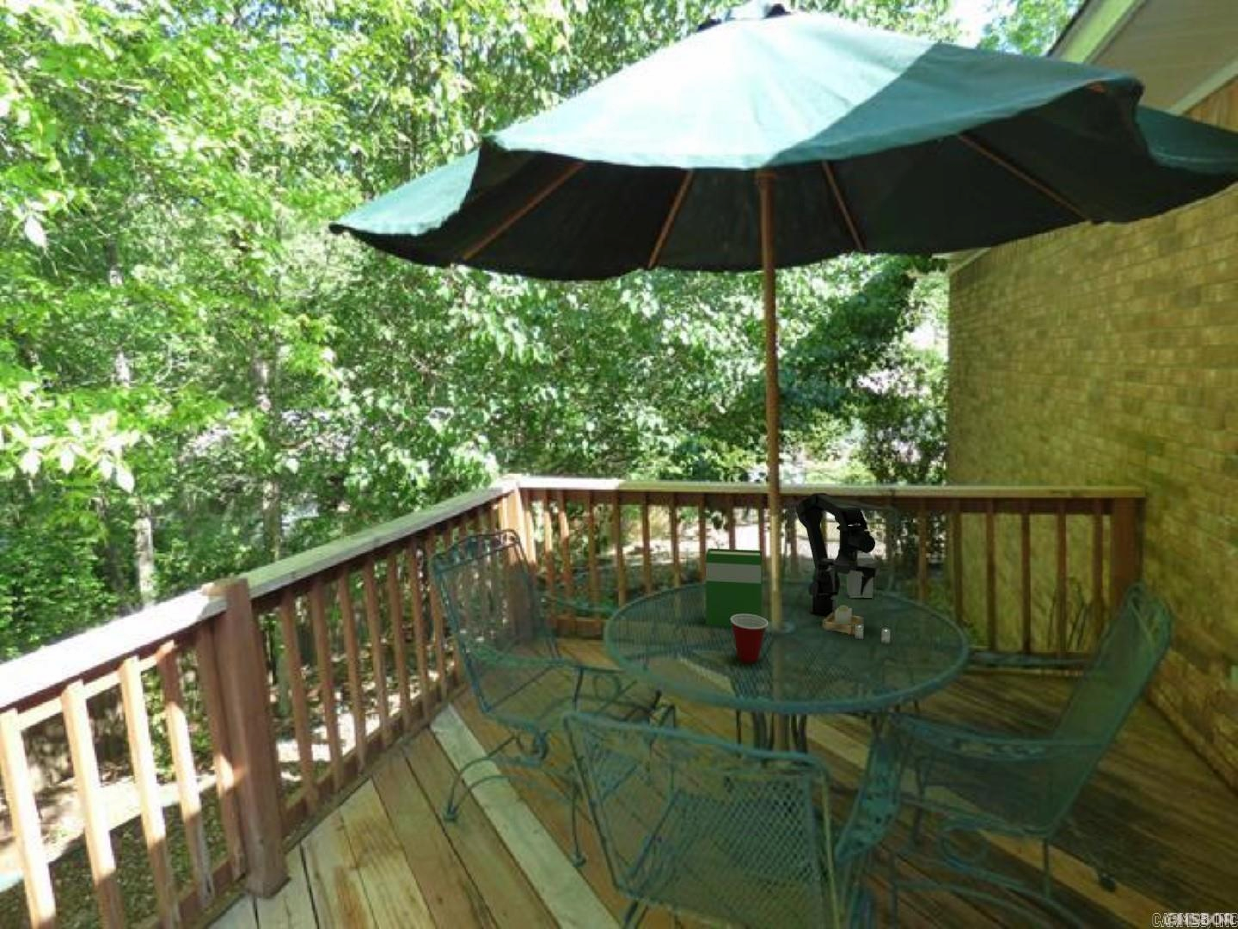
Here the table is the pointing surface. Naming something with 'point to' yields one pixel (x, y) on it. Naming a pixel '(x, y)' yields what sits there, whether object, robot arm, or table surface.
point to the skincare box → (860, 579)
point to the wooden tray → (849, 629)
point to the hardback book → (732, 584)
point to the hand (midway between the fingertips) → (847, 593)
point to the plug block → (843, 615)
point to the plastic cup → (748, 636)
